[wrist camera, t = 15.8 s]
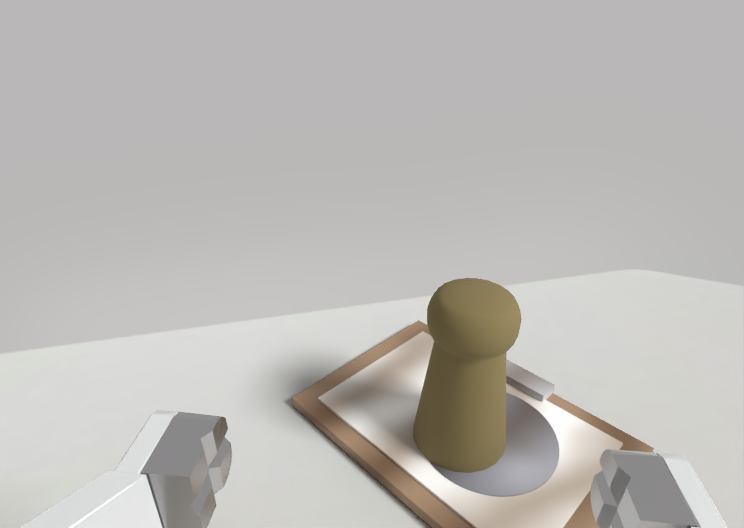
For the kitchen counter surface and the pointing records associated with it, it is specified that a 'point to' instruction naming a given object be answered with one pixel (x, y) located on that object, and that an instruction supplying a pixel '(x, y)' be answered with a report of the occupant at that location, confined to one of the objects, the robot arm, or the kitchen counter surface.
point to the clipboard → (458, 489)
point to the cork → (466, 375)
